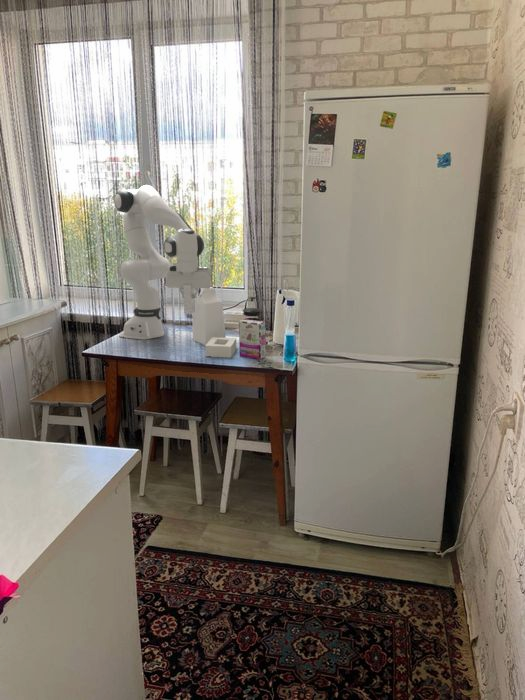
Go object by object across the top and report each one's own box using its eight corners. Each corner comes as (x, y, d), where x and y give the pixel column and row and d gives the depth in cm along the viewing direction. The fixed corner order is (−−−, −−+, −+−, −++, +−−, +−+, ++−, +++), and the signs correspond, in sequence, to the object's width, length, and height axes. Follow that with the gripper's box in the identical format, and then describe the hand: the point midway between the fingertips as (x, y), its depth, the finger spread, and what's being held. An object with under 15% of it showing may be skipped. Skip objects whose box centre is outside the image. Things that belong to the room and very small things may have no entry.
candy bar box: (266, 357, 231) (266, 321, 227) (260, 360, 227) (260, 324, 222) (244, 353, 237) (244, 318, 232) (238, 356, 233) (238, 320, 228)
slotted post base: (205, 356, 233) (205, 345, 231) (212, 347, 246) (212, 337, 244) (231, 357, 231) (231, 346, 230) (236, 348, 245) (236, 338, 243)
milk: (205, 345, 250) (203, 291, 242) (192, 339, 258) (190, 287, 251) (225, 340, 257) (224, 288, 249) (212, 335, 266) (211, 285, 258)
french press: (248, 340, 257) (247, 294, 251) (265, 342, 254) (265, 295, 247) (237, 346, 247) (236, 298, 240) (255, 349, 244) (255, 300, 237)
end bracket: (184, 313, 232) (183, 284, 228) (187, 310, 238) (186, 282, 234) (192, 314, 232) (190, 285, 228) (195, 311, 237) (194, 282, 234)
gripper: (212, 266, 231) (213, 297, 235) (167, 265, 233) (169, 295, 237) (209, 268, 225) (210, 299, 229) (163, 267, 227) (165, 298, 231)
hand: (189, 297), depth 233 cm, fingers closed on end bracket, 3 cm apart
